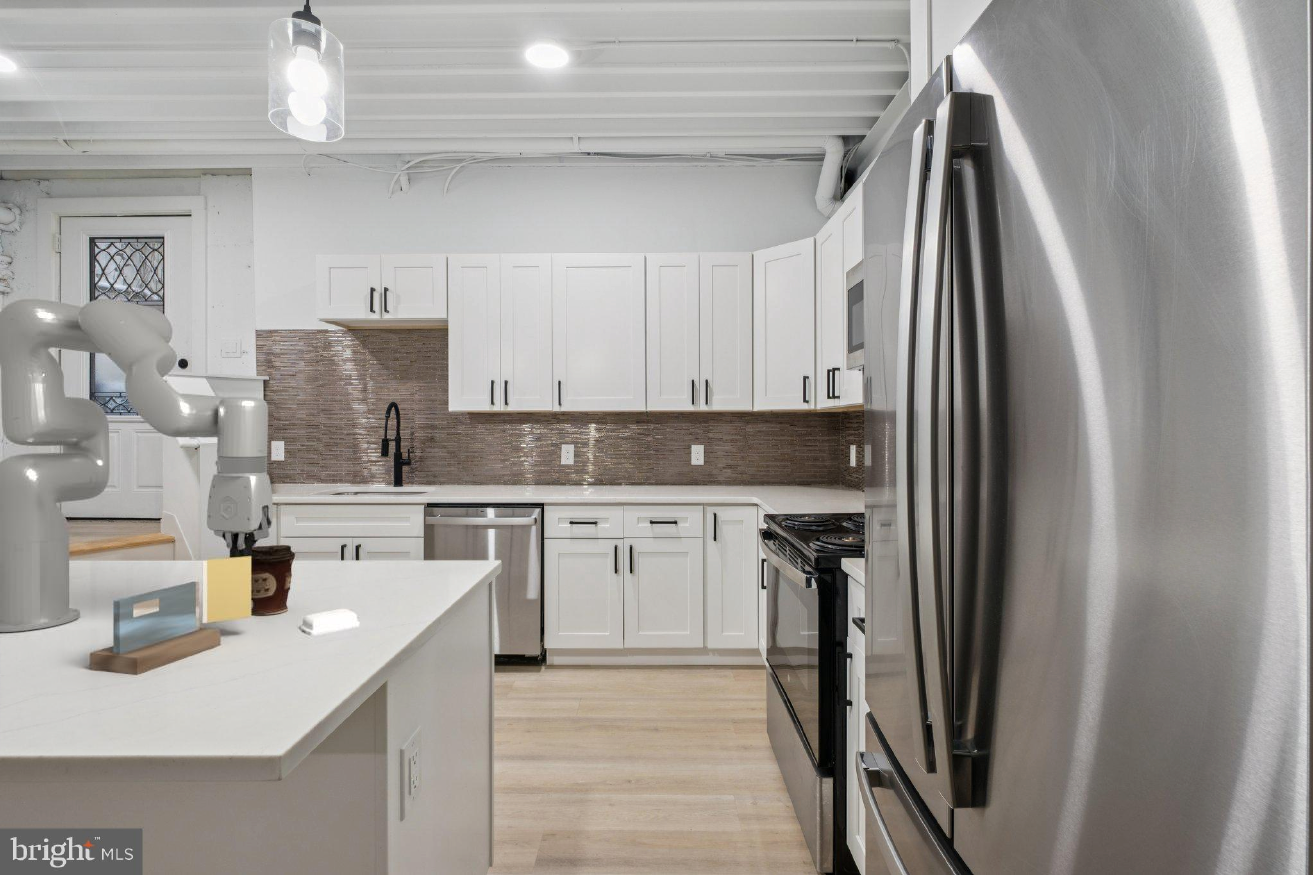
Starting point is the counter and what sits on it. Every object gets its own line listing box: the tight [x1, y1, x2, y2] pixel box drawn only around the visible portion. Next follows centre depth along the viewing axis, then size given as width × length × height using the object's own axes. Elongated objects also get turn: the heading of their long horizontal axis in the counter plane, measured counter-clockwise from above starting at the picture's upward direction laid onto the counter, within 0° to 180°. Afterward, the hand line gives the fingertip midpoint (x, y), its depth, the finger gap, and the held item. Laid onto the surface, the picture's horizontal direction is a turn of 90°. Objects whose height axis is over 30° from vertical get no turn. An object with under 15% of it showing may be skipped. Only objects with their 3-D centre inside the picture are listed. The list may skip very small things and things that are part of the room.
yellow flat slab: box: [201, 556, 252, 624], centre depth 113 cm, size 1×7×10 cm, turn 120°
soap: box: [299, 608, 361, 636], centre depth 121 cm, size 9×7×3 cm
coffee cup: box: [251, 544, 296, 616], centre depth 131 cm, size 9×8×13 cm
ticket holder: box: [89, 581, 222, 676], centre depth 105 cm, size 9×14×10 cm, turn 166°
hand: (240, 570), depth 117 cm, fingers closed
